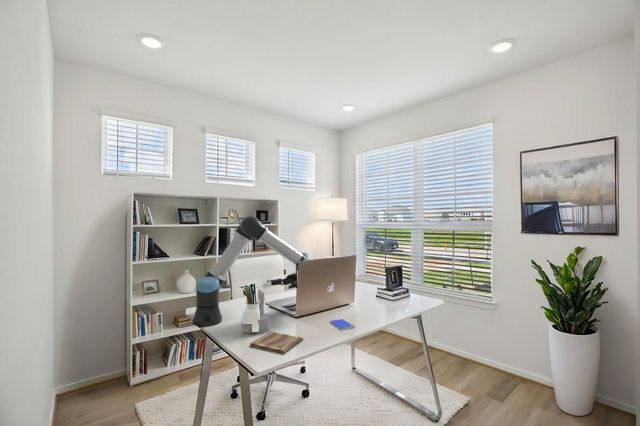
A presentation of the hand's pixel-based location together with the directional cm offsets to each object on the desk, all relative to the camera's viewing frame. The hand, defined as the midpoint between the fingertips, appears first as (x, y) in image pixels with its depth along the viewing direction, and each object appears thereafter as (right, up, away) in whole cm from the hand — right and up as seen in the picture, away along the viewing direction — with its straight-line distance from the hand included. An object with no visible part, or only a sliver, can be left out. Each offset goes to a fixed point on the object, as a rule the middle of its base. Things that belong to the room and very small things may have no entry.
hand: (274, 287), depth 167 cm
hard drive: (+37, -20, -4) cm, 42 cm away
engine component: (-5, -19, -10) cm, 22 cm away
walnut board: (+5, -19, -27) cm, 34 cm away
